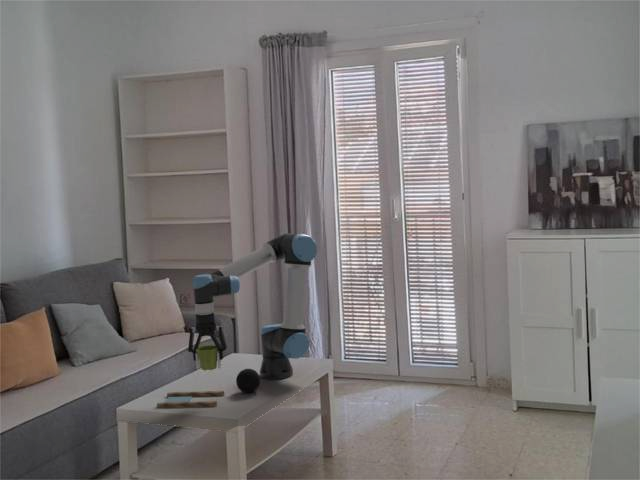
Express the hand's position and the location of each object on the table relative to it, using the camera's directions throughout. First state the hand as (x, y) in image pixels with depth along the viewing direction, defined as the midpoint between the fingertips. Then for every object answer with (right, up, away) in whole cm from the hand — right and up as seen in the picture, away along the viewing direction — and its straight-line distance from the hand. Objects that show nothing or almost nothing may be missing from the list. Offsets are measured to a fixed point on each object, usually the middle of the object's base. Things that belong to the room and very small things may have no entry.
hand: (209, 367), depth 299 cm
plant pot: (0, -1, 0) cm, 1 cm away
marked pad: (-13, -14, +2) cm, 20 cm away
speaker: (+15, -12, +10) cm, 22 cm away
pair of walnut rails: (-7, -14, +2) cm, 16 cm away
